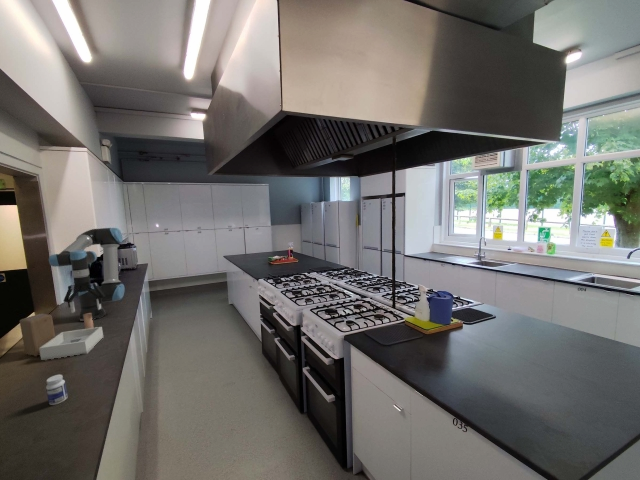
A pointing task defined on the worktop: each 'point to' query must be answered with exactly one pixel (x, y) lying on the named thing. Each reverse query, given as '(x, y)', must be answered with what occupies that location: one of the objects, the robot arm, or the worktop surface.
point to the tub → (71, 343)
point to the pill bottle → (56, 390)
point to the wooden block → (36, 332)
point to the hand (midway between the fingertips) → (86, 310)
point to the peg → (88, 320)
